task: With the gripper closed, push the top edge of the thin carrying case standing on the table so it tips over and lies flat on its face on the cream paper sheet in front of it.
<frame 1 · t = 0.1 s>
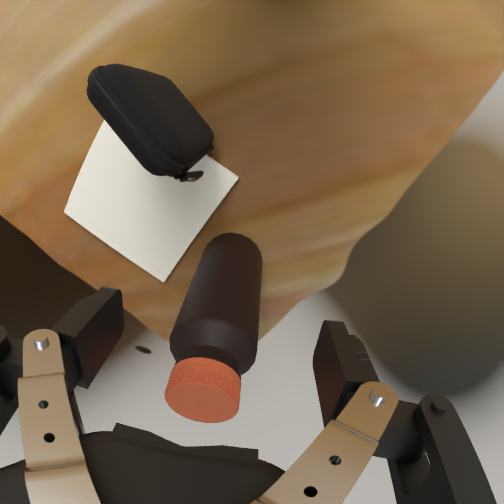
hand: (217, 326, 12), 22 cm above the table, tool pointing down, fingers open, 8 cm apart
cream paper sheet: (140, 193, 33), on the table
bottle: (232, 257, 36), on the table
carrying case or bag: (187, 117, 29), on the table
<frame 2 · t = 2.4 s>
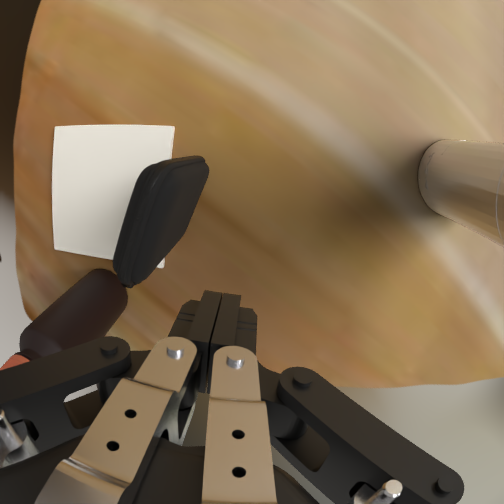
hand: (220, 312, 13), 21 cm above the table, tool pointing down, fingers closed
cream paper sheet: (105, 192, 33), on the table
bottle: (106, 291, 37), on the table
carrying case or bag: (186, 200, 33), on the table
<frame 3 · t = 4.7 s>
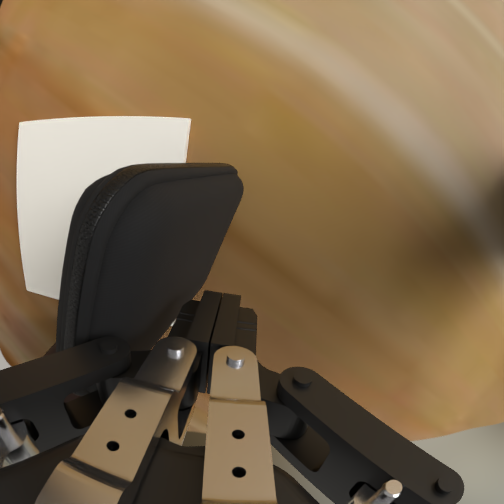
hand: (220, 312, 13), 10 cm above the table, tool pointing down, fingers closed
cream paper sheet: (87, 217, 22), on the table
carrying case or bag: (208, 233, 22), on the table
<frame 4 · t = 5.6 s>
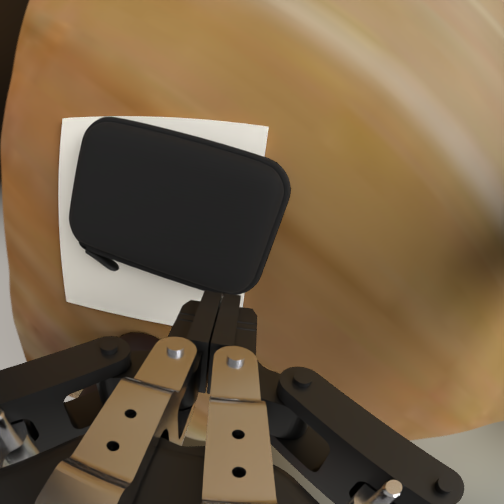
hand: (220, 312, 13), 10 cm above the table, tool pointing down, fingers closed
cream paper sheet: (146, 225, 22), on the table
bottle: (147, 358, 27), on the table
carrying case or bag: (274, 248, 20), point 2 cm above the table, touching cream paper sheet
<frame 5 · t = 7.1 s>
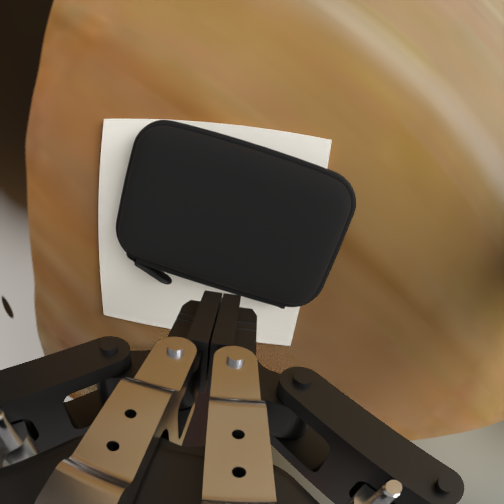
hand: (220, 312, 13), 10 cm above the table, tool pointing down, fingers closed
cream paper sheet: (199, 235, 22), on the table
bottle: (190, 370, 26), on the table
carrying case or bag: (337, 260, 20), point 2 cm above the table, touching cream paper sheet
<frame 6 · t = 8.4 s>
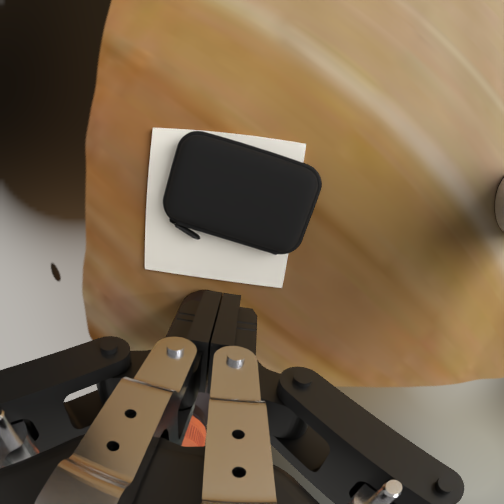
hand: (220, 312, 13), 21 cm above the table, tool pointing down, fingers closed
cream paper sheet: (219, 208, 33), on the table
bottle: (207, 312, 37), on the table
carrying case or bag: (310, 221, 31), point 2 cm above the table, touching cream paper sheet
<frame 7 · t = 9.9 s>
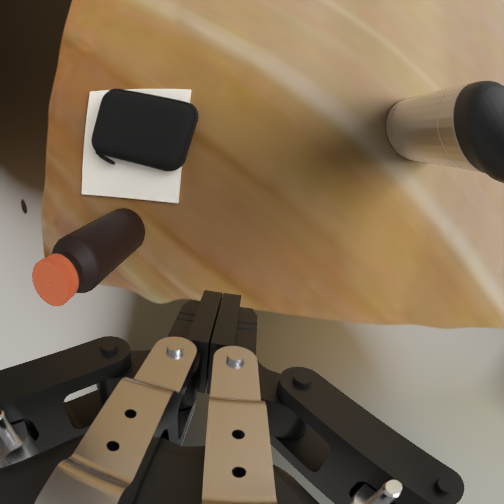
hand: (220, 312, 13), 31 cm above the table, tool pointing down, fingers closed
cream paper sheet: (131, 143, 40), on the table
bottle: (126, 229, 44), on the table
carrying case or bag: (191, 144, 38), point 2 cm above the table, touching cream paper sheet
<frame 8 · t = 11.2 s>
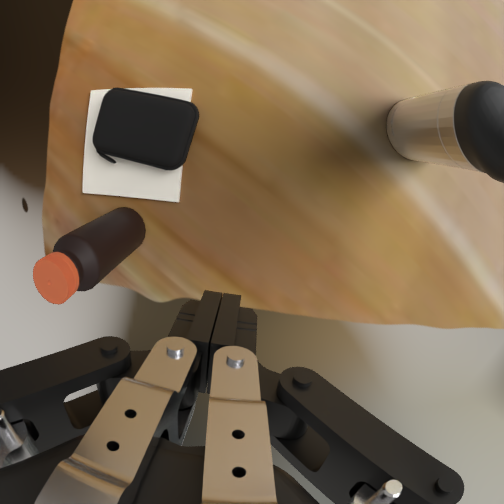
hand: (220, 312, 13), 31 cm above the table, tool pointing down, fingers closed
cream paper sheet: (132, 142, 40), on the table
bottle: (126, 228, 44), on the table
carrying case or bag: (192, 143, 38), point 2 cm above the table, touching cream paper sheet
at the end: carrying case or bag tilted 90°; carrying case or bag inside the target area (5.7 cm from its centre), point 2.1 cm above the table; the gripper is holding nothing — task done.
